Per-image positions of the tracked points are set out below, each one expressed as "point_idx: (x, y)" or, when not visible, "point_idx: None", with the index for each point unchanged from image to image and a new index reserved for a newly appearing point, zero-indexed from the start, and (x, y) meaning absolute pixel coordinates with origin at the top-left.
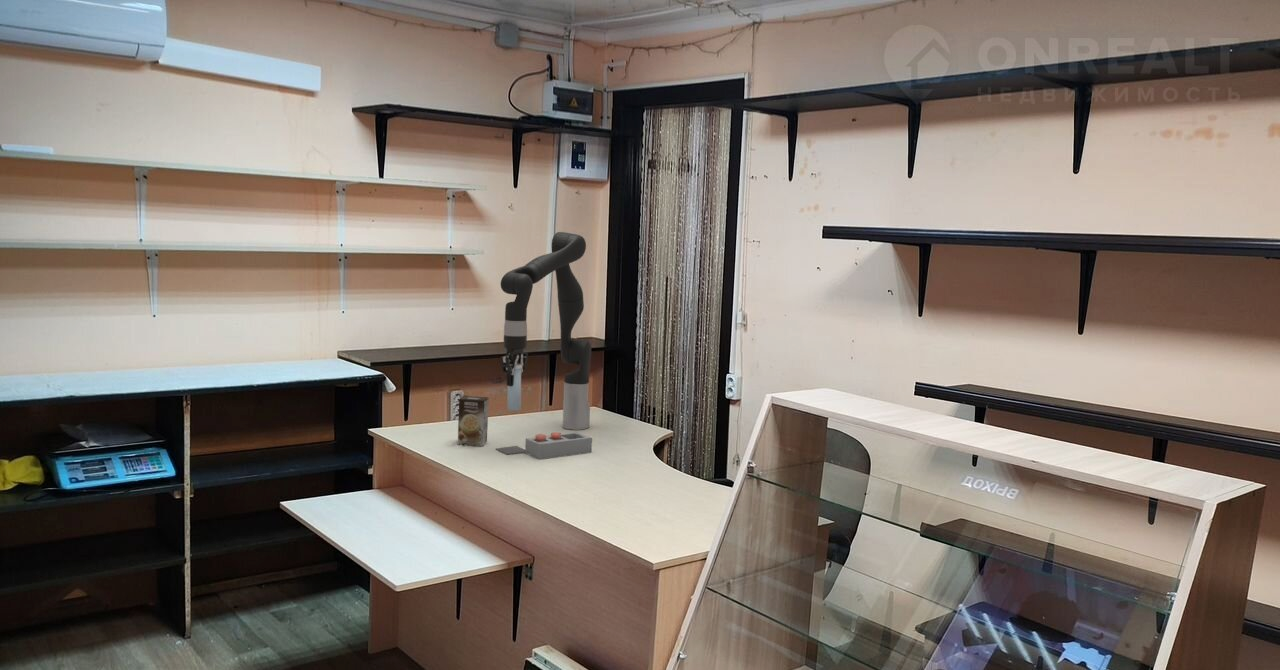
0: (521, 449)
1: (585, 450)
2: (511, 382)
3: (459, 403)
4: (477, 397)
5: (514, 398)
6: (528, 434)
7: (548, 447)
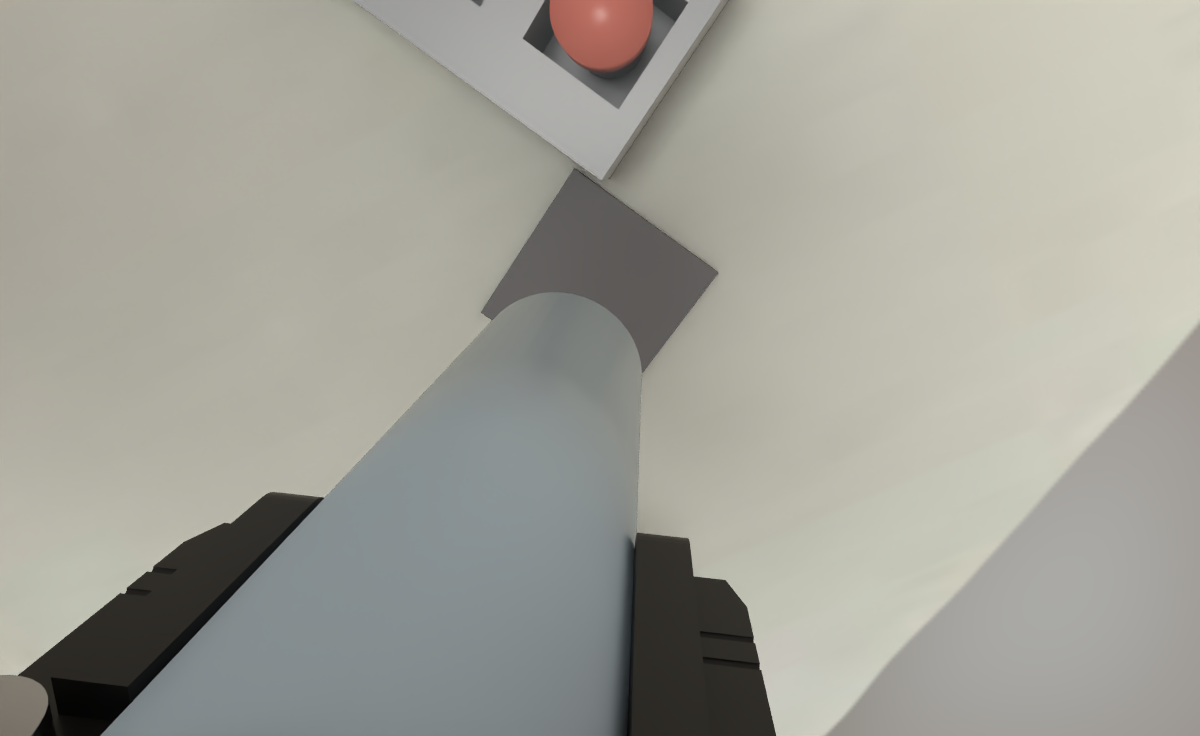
0: (556, 236)
1: None
2: (690, 609)
3: None
4: None
5: (626, 393)
6: (136, 385)
7: None
